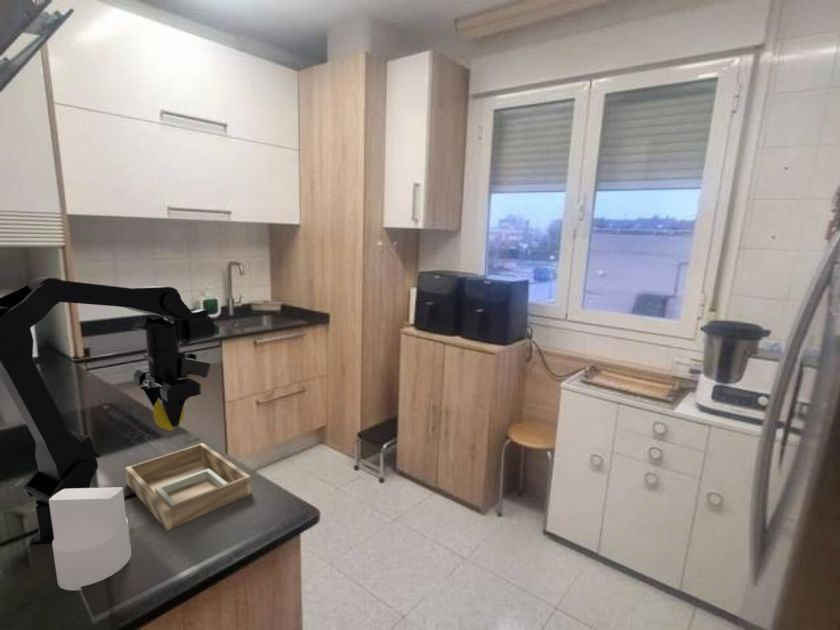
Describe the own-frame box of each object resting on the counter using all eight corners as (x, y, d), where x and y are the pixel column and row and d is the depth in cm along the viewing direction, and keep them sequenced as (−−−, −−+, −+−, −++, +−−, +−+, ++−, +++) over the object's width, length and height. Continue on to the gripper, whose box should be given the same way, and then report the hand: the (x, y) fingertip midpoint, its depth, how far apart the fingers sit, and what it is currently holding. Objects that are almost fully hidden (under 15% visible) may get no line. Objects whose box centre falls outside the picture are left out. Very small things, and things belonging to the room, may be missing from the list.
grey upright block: (144, 546, 71) (136, 476, 69) (107, 589, 62) (97, 510, 60) (86, 548, 70) (77, 478, 68) (40, 591, 61) (29, 512, 60)
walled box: (251, 495, 85) (250, 476, 84) (167, 532, 74) (165, 511, 73) (204, 459, 100) (202, 442, 99) (127, 486, 89) (125, 467, 88)
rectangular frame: (231, 492, 85) (231, 485, 85) (175, 516, 78) (174, 508, 77) (209, 475, 92) (208, 468, 92) (155, 495, 84) (154, 487, 84)
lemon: (172, 437, 88) (169, 398, 87) (148, 435, 89) (144, 397, 88) (191, 426, 93) (188, 390, 92) (168, 424, 94) (165, 388, 93)
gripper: (225, 348, 89) (229, 422, 91) (185, 336, 101) (190, 402, 103) (165, 358, 80) (171, 439, 82) (129, 344, 92) (136, 415, 94)
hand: (169, 422), depth 91 cm, fingers closed on lemon, 5 cm apart
